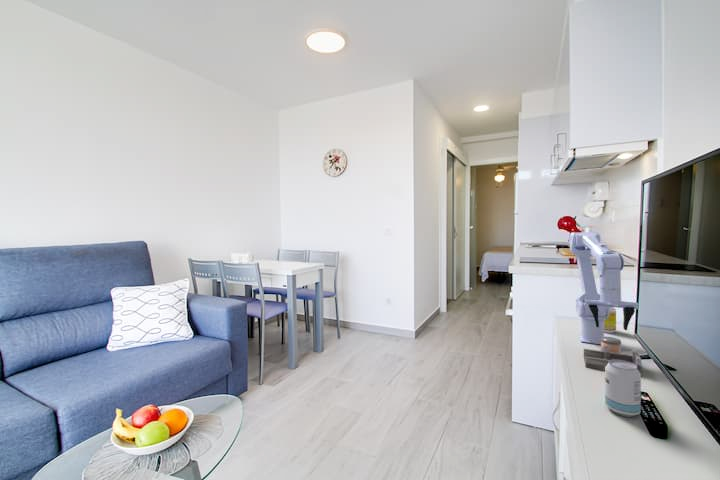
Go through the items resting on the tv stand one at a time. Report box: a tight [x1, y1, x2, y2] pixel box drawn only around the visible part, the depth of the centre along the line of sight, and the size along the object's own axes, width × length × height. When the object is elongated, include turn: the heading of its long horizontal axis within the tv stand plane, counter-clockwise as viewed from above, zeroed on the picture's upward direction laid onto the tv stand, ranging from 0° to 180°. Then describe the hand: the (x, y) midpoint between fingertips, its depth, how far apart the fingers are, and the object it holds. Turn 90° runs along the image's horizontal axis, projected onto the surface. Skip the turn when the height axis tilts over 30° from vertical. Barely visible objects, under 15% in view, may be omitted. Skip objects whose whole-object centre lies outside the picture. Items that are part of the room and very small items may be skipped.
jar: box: [600, 336, 622, 354], centre depth 113 cm, size 6×6×6 cm
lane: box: [583, 348, 643, 377], centre depth 106 cm, size 10×14×5 cm
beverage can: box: [604, 360, 642, 418], centre depth 81 cm, size 7×7×12 cm
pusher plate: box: [604, 346, 610, 360], centre depth 107 cm, size 6×1×4 cm, turn 149°
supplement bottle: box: [604, 307, 617, 334], centre depth 139 cm, size 7×7×13 cm
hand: (611, 328), depth 112 cm, fingers open, 7 cm apart
